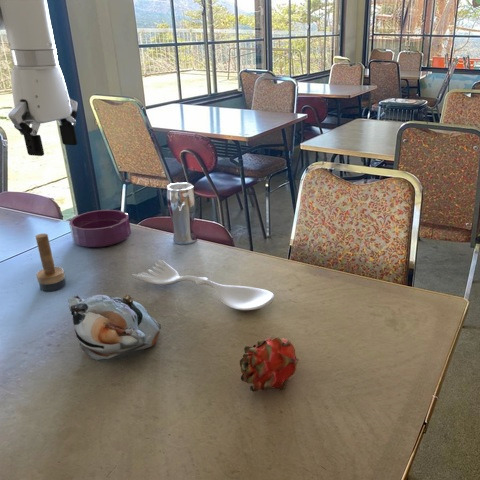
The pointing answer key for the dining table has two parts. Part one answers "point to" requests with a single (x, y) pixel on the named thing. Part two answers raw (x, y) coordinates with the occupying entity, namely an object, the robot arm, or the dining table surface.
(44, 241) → the dish brush
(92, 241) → the bowl
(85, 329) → the lucky cat figurine
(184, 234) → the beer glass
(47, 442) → the dining table surface
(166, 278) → the spoon
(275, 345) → the dragon fruit
